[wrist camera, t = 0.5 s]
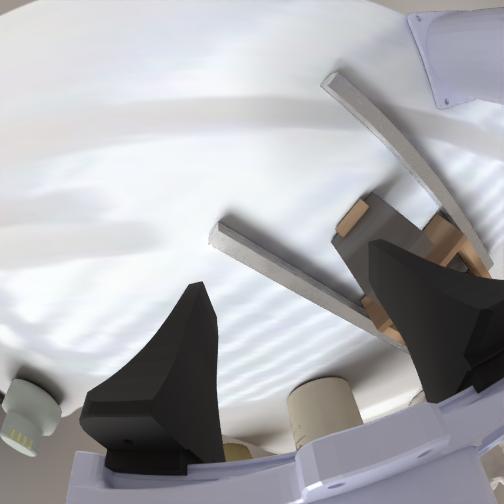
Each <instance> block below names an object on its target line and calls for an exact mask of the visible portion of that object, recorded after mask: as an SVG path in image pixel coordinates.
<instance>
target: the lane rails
mask: <svg viewBox="0 0 504 504" xmlns="http://www.w3.org/2000/svg"><path fill="white" fill-rule="evenodd" d="M321 87H322V88H323V89H324V90H325V91H327V92H328V93H329V94H330V95H331V96H333V97H334V98H335V99H336V100H337V101H339V102H340V103H341V104H342V105H343V106H344V107H345V108H347V109H348V110H349V111H350V112H351V113H352V114H353V115H354V116H355V117H356V118H358V119H359V120H360V121H361V122H362V123H363V124H364V125H365V126H366V127H367V128H368V129H369V130H370V131H371V132H372V133H373V134H374V135H375V136H376V137H377V138H378V139H379V140H380V141H381V142H382V143H383V144H384V145H385V146H386V147H387V148H388V149H389V150H390V151H391V152H392V153H393V154H394V155H395V156H396V157H397V158H398V159H399V160H400V162H401V163H402V164H403V165H404V166H405V167H406V168H407V169H408V170H409V171H410V173H411V174H412V175H413V176H414V177H415V178H416V179H417V181H418V182H419V183H420V184H421V185H422V187H423V188H424V189H425V190H426V191H427V193H428V194H429V195H430V196H431V197H432V199H433V200H434V201H435V202H436V204H437V205H438V206H439V208H440V209H441V210H442V211H443V213H444V214H445V215H446V217H447V218H448V219H449V221H450V222H451V223H452V225H453V226H455V227H456V228H457V229H459V230H460V231H461V232H463V233H464V234H465V235H466V237H467V238H468V240H469V241H470V243H471V245H472V246H473V248H474V249H475V251H476V252H477V254H478V256H479V257H480V259H481V261H482V262H483V264H484V265H485V267H486V269H487V271H489V269H490V268H491V267H492V266H493V262H492V260H491V258H490V256H489V254H488V253H487V251H486V249H485V247H484V246H483V244H482V242H481V240H480V239H479V237H478V235H477V234H476V232H475V230H474V229H473V227H472V226H471V224H470V222H469V221H468V219H467V218H466V216H465V215H464V213H463V212H462V210H461V209H460V207H459V206H458V204H457V203H456V201H455V200H454V198H453V197H452V196H451V194H450V193H449V191H448V190H447V189H446V187H445V186H444V185H443V183H442V182H441V181H440V179H439V178H438V177H437V175H436V174H435V173H434V171H433V170H432V169H431V168H430V166H429V165H428V164H427V163H426V161H425V160H424V159H423V158H422V157H421V155H420V154H419V153H418V152H417V151H416V149H415V148H414V147H413V146H412V145H411V144H410V142H409V141H408V140H407V139H406V138H405V137H404V136H403V134H402V133H401V132H400V131H399V130H398V129H397V128H396V127H395V126H394V125H393V124H392V123H391V122H390V120H389V119H388V118H387V117H386V116H385V115H384V114H383V113H382V112H381V111H380V110H379V109H378V108H377V107H376V106H375V105H374V104H373V103H372V102H371V101H370V100H369V99H368V98H366V97H365V96H364V95H363V94H362V93H361V92H360V91H359V90H358V89H357V88H356V87H355V86H354V85H352V84H351V83H350V82H349V81H348V80H347V79H346V78H345V77H343V76H342V75H341V74H340V73H339V72H337V73H331V74H330V75H329V76H328V77H327V78H326V80H325V81H324V82H323V83H322V84H321ZM208 244H209V245H211V246H213V247H215V248H216V249H218V250H220V251H222V252H224V253H225V254H227V255H229V256H231V257H232V258H234V259H236V260H238V261H240V262H241V263H243V264H245V265H247V266H248V267H250V268H252V269H254V270H256V271H257V272H259V273H261V274H263V275H265V276H266V277H268V278H270V279H272V280H274V281H275V282H277V283H279V284H281V285H283V286H284V287H286V288H288V289H290V290H292V291H293V292H295V293H297V294H299V295H301V296H303V297H304V298H306V299H308V300H310V301H312V302H313V303H315V304H317V305H319V306H321V307H323V308H324V309H326V310H328V311H330V312H332V313H334V314H335V315H337V316H339V317H341V318H343V319H345V320H347V321H348V322H350V323H352V324H354V325H356V326H358V327H359V328H361V329H363V330H365V331H367V332H369V333H371V334H372V335H374V336H376V337H378V338H380V339H382V340H384V341H386V342H387V343H389V344H391V345H393V346H395V347H397V348H399V349H401V350H402V351H404V352H406V353H408V354H410V353H409V351H408V349H407V347H406V346H404V345H403V344H401V343H399V342H397V341H396V340H394V339H392V338H390V337H388V336H387V335H385V334H383V333H381V332H380V331H378V330H377V329H376V327H375V325H374V323H373V322H372V320H371V318H370V316H369V315H368V313H367V311H366V310H364V309H363V308H361V307H359V306H358V305H356V304H354V303H353V302H351V301H350V300H348V299H346V298H345V297H343V296H341V295H340V294H338V293H336V292H335V291H333V290H331V289H330V288H328V287H327V286H325V285H323V284H322V283H320V282H318V281H317V280H315V279H313V278H312V277H310V276H308V275H307V274H305V273H303V272H302V271H300V270H298V269H297V268H295V267H293V266H292V265H290V264H288V263H287V262H285V261H283V260H282V259H280V258H278V257H277V256H275V255H273V254H272V253H270V252H268V251H267V250H265V249H263V248H262V247H260V246H258V245H257V244H255V243H253V242H252V241H250V240H248V239H247V238H245V237H243V236H242V235H240V234H238V233H237V232H235V231H233V230H232V229H230V228H228V227H227V226H225V225H223V224H222V223H220V222H217V224H216V225H215V227H214V228H213V230H212V231H211V232H210V234H209V243H208Z"/></svg>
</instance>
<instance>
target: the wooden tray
mask: <svg viewBox="0 0 504 504" xmlns="http://www.w3.org/2000/svg"><path fill="white" fill-rule="evenodd" d="M335 229H336V231H337V232H338V234H337V235H336V236H335V237H334V238H333V240H332V241H331V243H332V244H333V246H334V247H335V249H336V250H337V252H338V253H339V255H340V256H341V258H342V259H343V261H344V262H345V264H346V265H347V267H348V268H349V270H350V271H351V273H352V274H353V276H354V278H355V279H356V281H357V282H358V284H359V285H360V287H361V289H362V290H363V292H364V293H365V295H366V296H365V297H364V298H363V299H362V300H361V303H362V304H363V306H364V308H365V310H366V311H367V313H368V315H369V316H370V318H371V320H372V322H373V323H374V325H375V327H376V329H377V330H378V331H380V332H381V333H383V334H385V335H387V336H388V337H390V338H392V339H394V340H396V341H397V342H399V343H401V344H403V345H404V346H406V344H405V342H404V340H403V338H402V337H401V335H400V333H399V331H398V330H397V328H396V327H395V325H394V324H393V322H392V320H391V319H390V317H389V316H388V314H387V313H386V311H385V310H384V308H383V306H382V305H381V303H380V302H379V300H378V299H377V297H376V295H375V293H374V291H373V289H372V286H371V284H370V282H369V254H368V242H369V241H373V240H377V239H383V240H386V241H388V242H390V243H392V244H394V245H396V246H399V247H401V248H403V249H405V250H407V251H409V252H411V253H413V254H415V255H417V256H419V257H422V258H424V259H426V260H429V261H431V262H433V263H436V264H438V265H441V266H443V267H446V266H447V264H448V263H449V262H450V261H451V260H452V258H453V257H454V256H455V255H456V253H458V254H459V256H460V257H461V258H462V260H463V261H464V263H465V264H466V265H467V267H468V268H469V270H468V272H467V273H466V274H470V275H474V276H479V277H484V278H490V279H492V278H491V276H490V274H489V272H488V271H487V269H486V267H485V265H484V264H483V262H482V261H481V259H480V257H479V256H478V254H477V252H476V251H475V249H474V248H473V246H472V245H471V243H470V241H469V240H468V238H467V237H466V235H465V234H464V233H463V232H461V231H460V230H459V229H457V228H456V227H455V226H453V225H452V224H451V223H449V222H448V221H447V220H445V219H444V218H443V217H441V216H440V215H438V214H436V215H435V216H434V218H433V219H432V220H431V221H430V223H429V224H428V225H427V226H426V228H425V229H424V230H423V231H421V230H420V229H419V228H417V227H416V226H415V225H414V224H413V223H411V222H410V221H409V220H408V219H406V218H405V217H404V216H403V215H401V214H400V213H399V212H398V211H396V210H395V209H394V208H393V207H391V206H390V205H389V204H387V203H386V202H385V201H383V200H382V199H381V198H379V197H378V196H377V195H375V194H374V193H373V192H371V194H370V195H369V196H368V197H367V199H366V200H365V201H364V202H363V201H362V200H361V199H359V200H358V202H357V203H356V204H355V205H354V207H353V208H352V209H351V210H350V211H349V213H348V214H347V215H346V216H345V217H344V219H343V220H342V221H341V222H340V223H339V225H338V226H337V227H336V228H335Z"/></svg>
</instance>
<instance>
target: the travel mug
mask: <svg viewBox="0 0 504 504" xmlns="http://www.w3.org/2000/svg"><path fill="white" fill-rule="evenodd" d="M287 405H288V410H289V415H290V420H291V425H292V430H293V435H294V440H295V445H296V450H297V451H298V450H299V449H300V448H301V447H303V446H304V445H306V444H308V443H309V442H311V441H313V440H315V439H318V438H321V437H324V436H327V435H329V434H332V433H336V432H340V431H343V430H346V429H350V428H353V427H356V426H359V425H363V421H362V418H361V415H360V412H359V410H358V407H357V404H356V402H355V399H354V396H353V393H352V391H351V388H350V385H349V383H348V382H347V381H346V380H344V379H341V378H335V377H329V378H322V379H317V380H314V381H311V382H308V383H306V384H304V385H302V386H300V387H299V388H297V389H296V390H294V391H293V392H292V393H291V394H290V396H289V397H288V400H287Z"/></svg>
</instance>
